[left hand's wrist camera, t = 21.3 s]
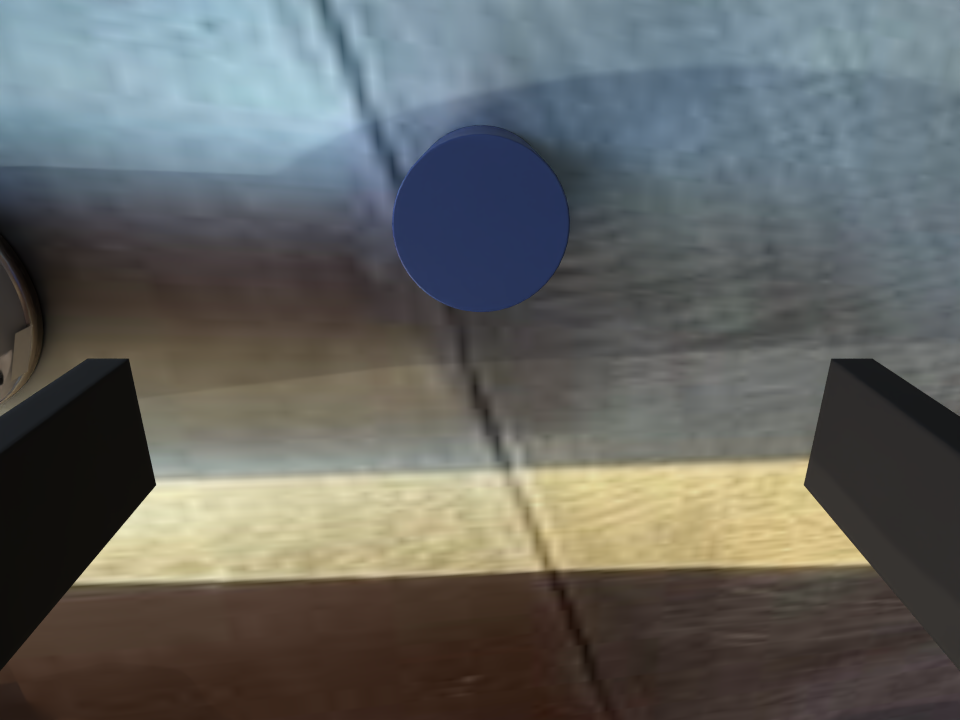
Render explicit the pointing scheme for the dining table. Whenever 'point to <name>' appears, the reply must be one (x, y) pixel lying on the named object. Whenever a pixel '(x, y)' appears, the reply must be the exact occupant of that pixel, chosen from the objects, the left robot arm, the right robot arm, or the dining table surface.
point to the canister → (481, 220)
